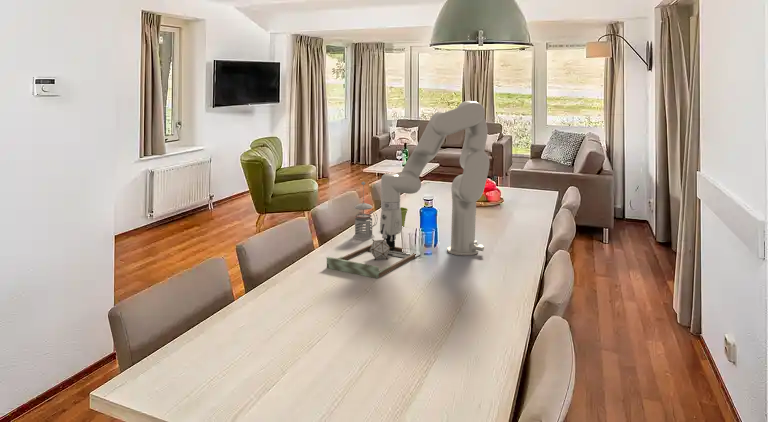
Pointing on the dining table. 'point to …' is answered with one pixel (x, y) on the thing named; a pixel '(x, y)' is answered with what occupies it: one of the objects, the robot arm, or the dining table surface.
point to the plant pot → (403, 215)
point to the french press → (363, 221)
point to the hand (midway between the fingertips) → (390, 249)
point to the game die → (379, 249)
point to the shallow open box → (366, 269)
